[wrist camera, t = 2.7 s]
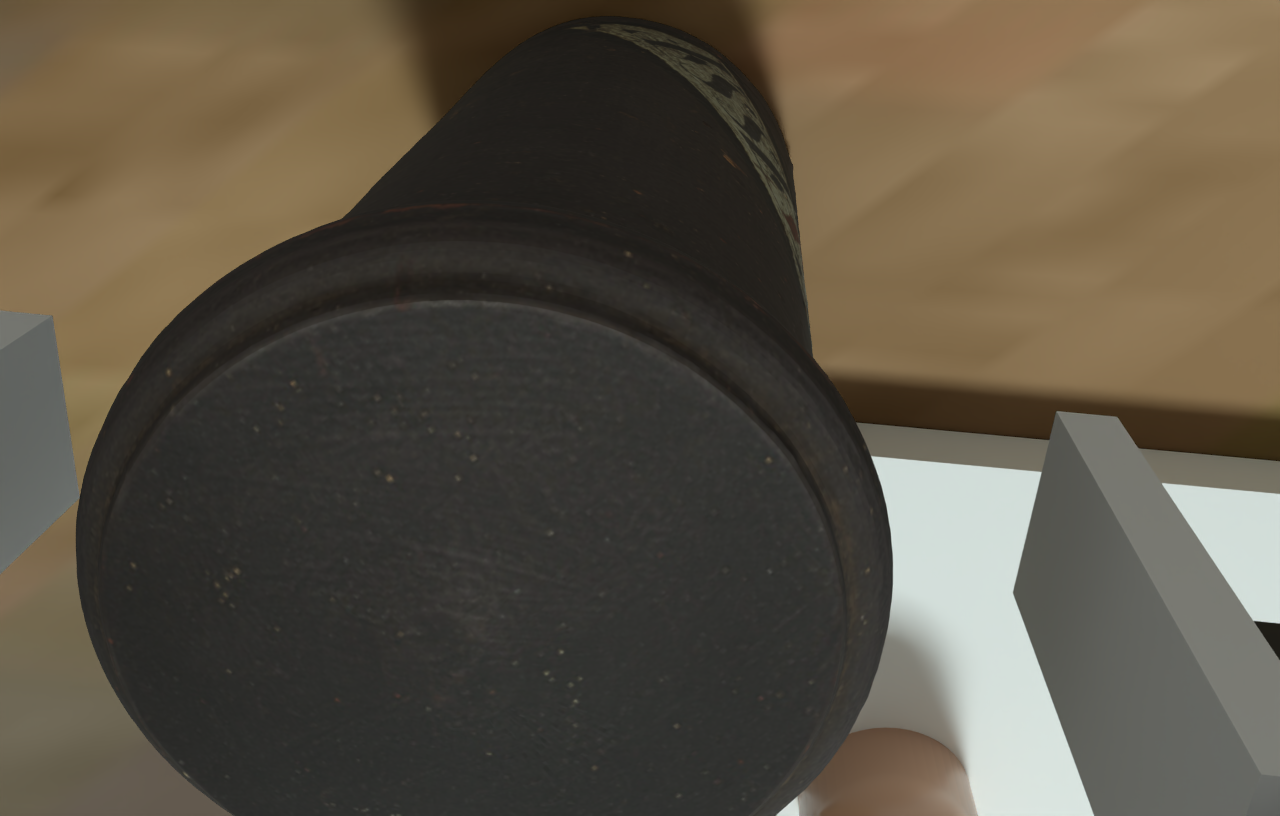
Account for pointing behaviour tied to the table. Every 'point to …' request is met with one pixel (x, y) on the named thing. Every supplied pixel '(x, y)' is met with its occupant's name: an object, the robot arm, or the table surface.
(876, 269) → the table surface
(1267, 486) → the thin white panel
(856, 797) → the peach rounded cylinder
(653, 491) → the container
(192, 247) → the table surface
